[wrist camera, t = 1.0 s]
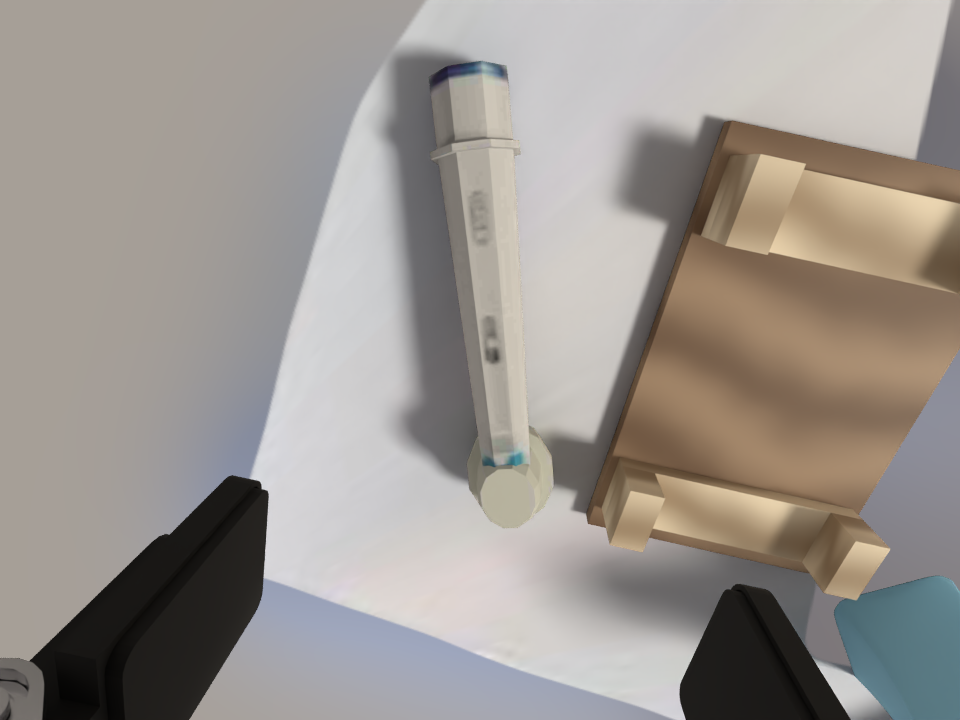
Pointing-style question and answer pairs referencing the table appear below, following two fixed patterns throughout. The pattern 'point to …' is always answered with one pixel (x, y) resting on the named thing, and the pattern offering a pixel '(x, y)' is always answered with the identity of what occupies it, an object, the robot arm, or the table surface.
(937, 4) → the table surface
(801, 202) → the v block cradle
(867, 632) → the vase
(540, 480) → the white electric toothbrush
